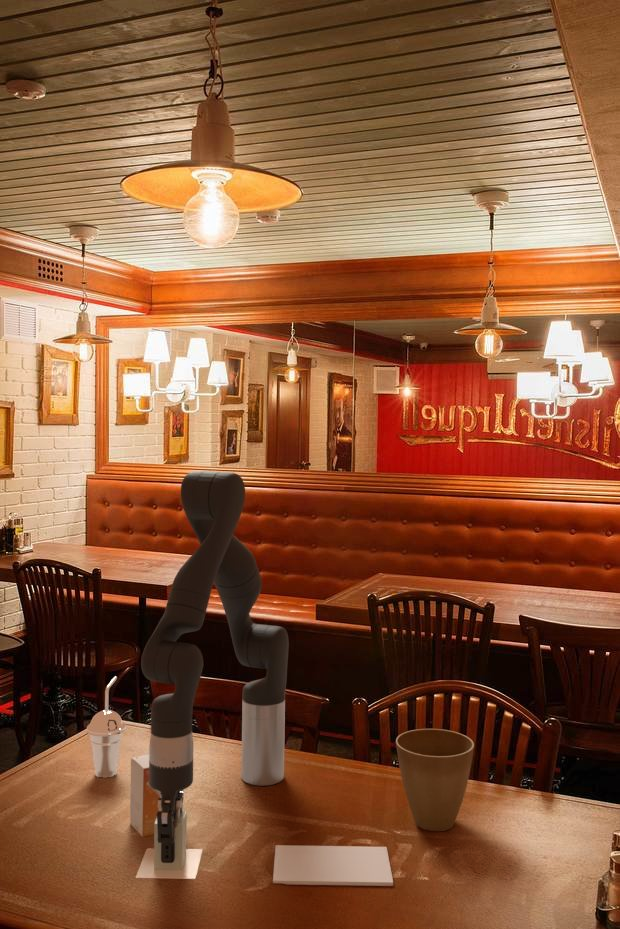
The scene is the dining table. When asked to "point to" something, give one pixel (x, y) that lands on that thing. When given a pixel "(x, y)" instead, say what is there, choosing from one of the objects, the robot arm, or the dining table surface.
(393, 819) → the dining table surface
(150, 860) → the tile
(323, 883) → the white rectangular board
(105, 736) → the cup with straw
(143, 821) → the small box
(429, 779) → the plant pot
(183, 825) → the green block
